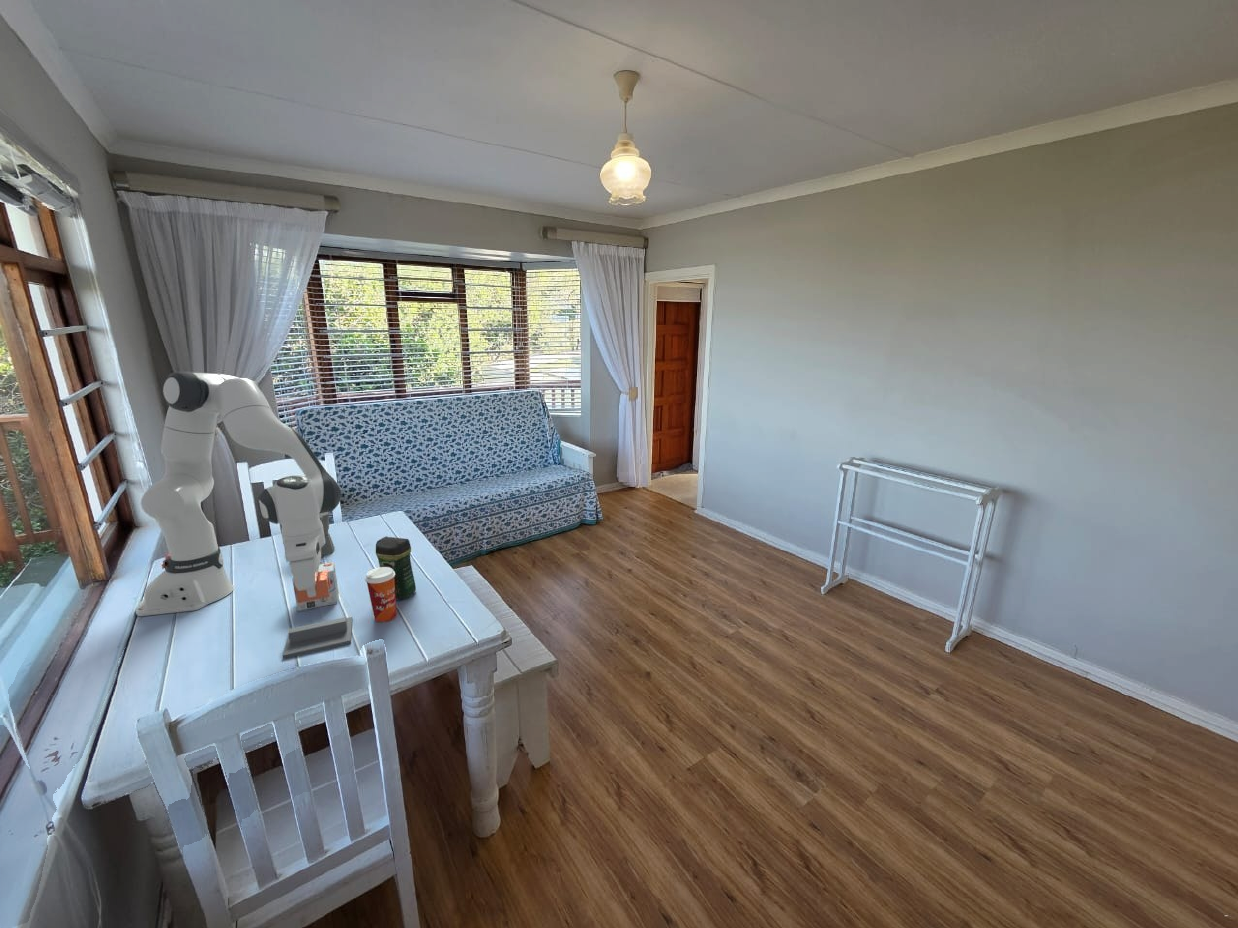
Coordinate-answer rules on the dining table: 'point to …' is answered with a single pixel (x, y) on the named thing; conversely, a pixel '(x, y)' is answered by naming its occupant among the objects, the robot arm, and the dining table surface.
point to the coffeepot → (326, 535)
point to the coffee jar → (397, 564)
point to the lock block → (321, 588)
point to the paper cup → (382, 593)
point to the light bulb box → (333, 591)
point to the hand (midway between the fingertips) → (313, 589)
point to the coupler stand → (318, 637)
